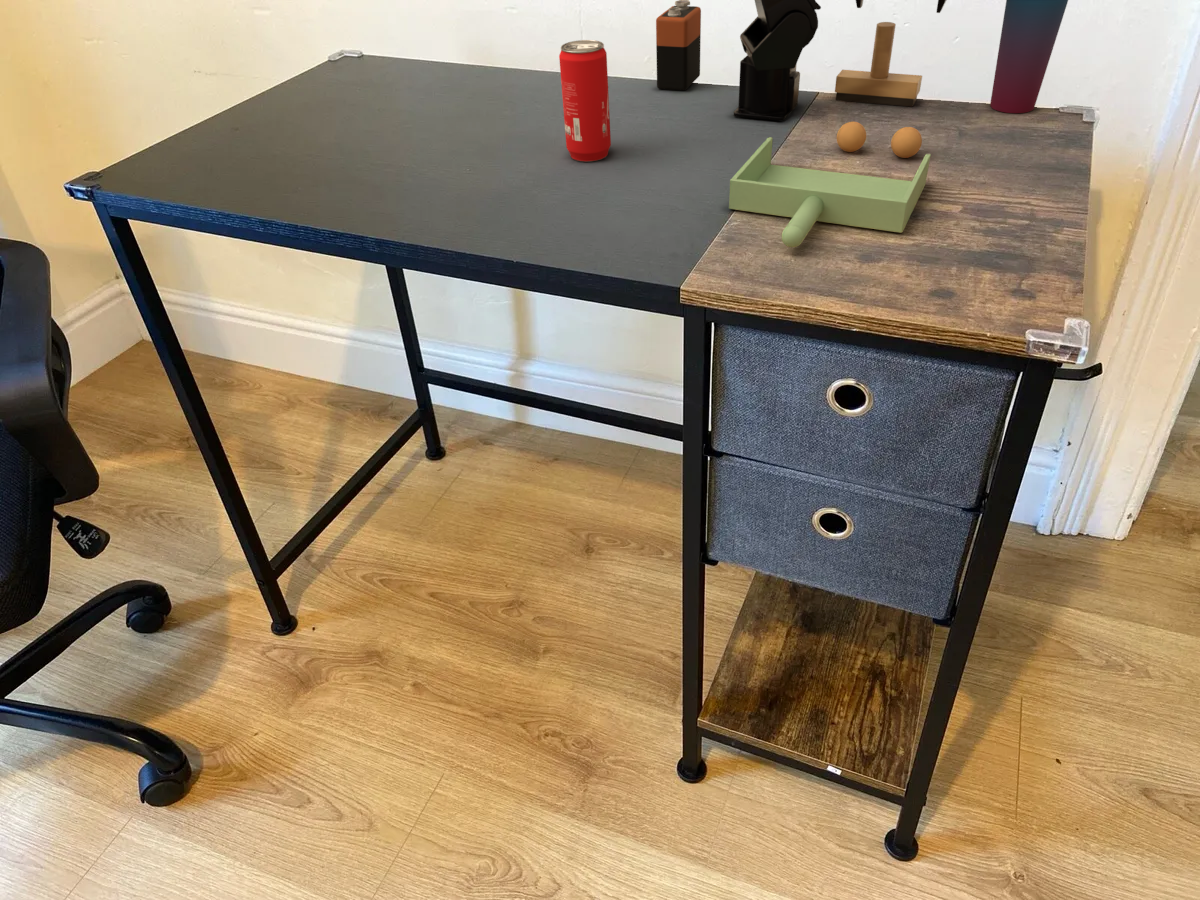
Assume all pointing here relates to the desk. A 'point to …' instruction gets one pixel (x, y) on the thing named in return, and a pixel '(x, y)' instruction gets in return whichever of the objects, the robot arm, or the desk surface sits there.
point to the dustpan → (823, 196)
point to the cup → (1025, 52)
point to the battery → (678, 46)
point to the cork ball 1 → (851, 136)
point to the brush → (879, 77)
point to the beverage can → (585, 99)
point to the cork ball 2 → (906, 142)
